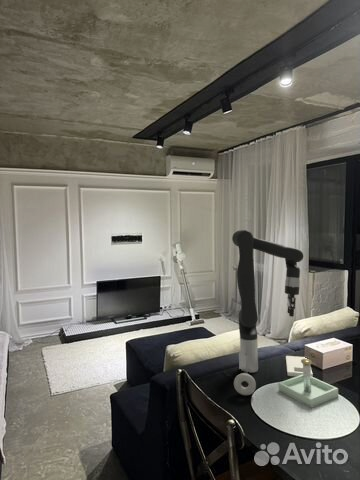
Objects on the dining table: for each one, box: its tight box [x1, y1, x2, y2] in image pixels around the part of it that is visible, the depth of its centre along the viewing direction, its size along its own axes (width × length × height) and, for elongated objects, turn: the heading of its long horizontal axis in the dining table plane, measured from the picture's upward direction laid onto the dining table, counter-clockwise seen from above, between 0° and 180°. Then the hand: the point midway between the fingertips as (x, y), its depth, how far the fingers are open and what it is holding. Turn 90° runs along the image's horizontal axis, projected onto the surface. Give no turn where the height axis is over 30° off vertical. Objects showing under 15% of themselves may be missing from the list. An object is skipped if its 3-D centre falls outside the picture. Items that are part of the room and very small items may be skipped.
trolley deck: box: [285, 355, 314, 377], centre depth 176 cm, size 22×12×2 cm, turn 164°
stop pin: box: [301, 359, 313, 392], centre depth 149 cm, size 5×5×14 cm
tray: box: [278, 374, 339, 409], centre depth 149 cm, size 18×18×4 cm
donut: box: [233, 372, 257, 396], centre depth 149 cm, size 10×3×10 cm, turn 77°
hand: (290, 314), depth 180 cm, fingers open, 8 cm apart
